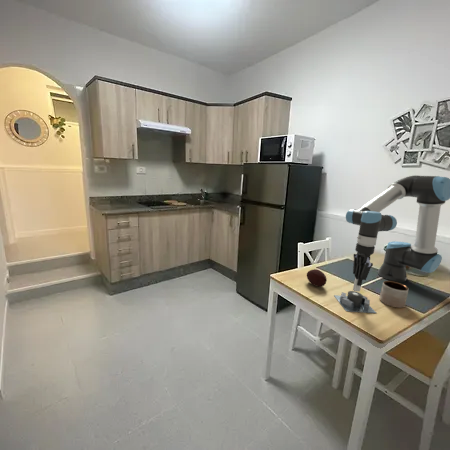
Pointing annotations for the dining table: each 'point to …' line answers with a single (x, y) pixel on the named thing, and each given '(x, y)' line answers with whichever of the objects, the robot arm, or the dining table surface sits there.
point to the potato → (316, 277)
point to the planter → (394, 294)
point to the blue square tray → (349, 304)
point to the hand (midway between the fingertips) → (356, 290)
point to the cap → (355, 298)
